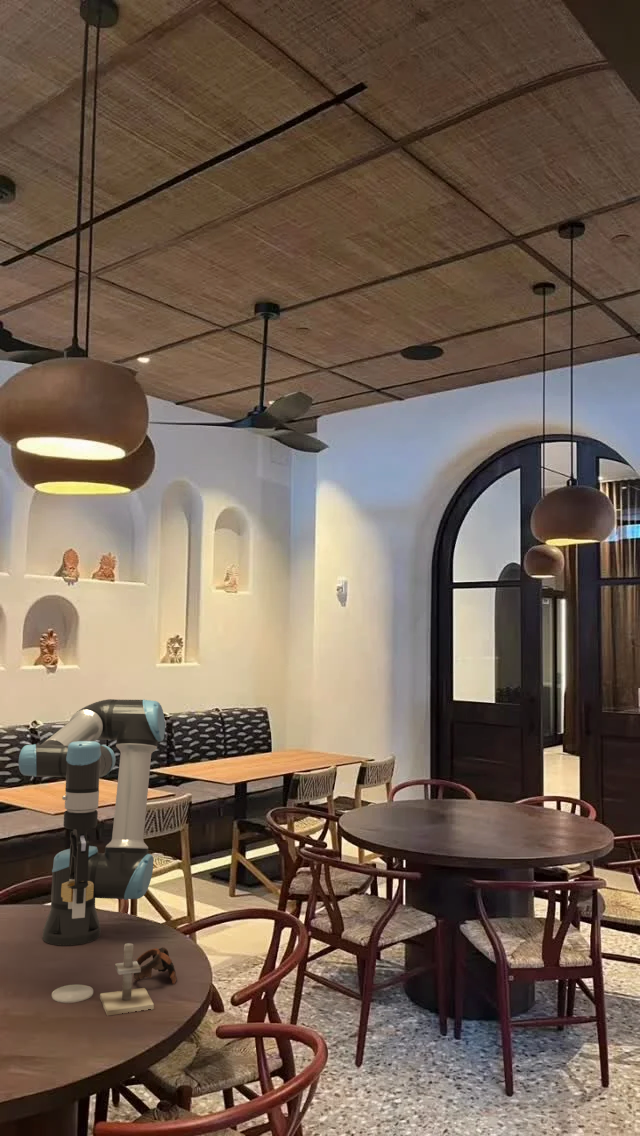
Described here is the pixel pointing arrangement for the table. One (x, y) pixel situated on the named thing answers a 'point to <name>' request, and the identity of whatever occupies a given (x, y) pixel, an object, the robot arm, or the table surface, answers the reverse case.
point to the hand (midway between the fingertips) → (76, 912)
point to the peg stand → (126, 989)
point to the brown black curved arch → (156, 964)
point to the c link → (68, 892)
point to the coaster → (72, 993)
